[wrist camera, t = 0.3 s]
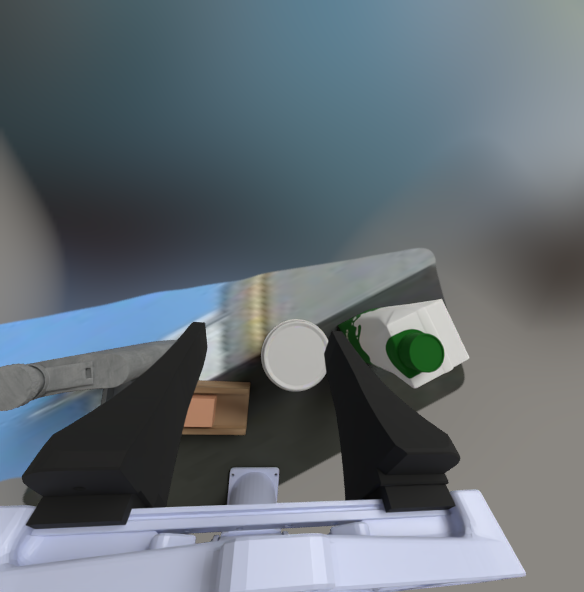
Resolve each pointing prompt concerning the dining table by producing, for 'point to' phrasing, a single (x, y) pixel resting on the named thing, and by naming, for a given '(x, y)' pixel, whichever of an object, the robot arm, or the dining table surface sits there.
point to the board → (225, 407)
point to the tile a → (201, 411)
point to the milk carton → (407, 340)
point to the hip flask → (77, 372)
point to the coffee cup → (294, 355)
